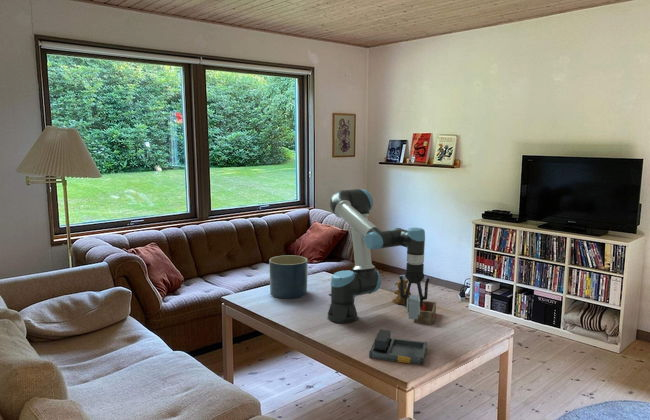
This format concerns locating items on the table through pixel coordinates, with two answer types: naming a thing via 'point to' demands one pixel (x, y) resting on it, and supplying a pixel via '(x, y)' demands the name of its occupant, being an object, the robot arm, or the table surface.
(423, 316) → the open wooden box
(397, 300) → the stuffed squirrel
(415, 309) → the pale blue upright block
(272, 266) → the planter
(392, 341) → the grey flat rectangular tray
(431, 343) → the table surface
